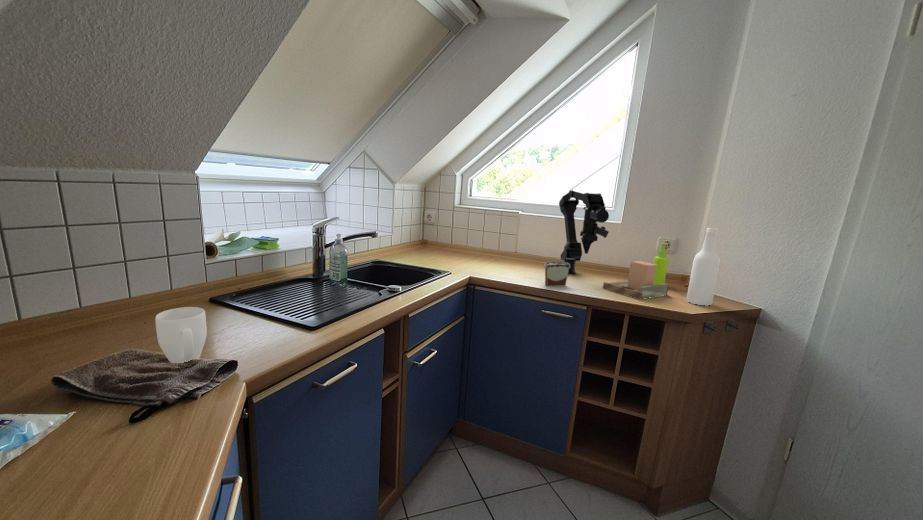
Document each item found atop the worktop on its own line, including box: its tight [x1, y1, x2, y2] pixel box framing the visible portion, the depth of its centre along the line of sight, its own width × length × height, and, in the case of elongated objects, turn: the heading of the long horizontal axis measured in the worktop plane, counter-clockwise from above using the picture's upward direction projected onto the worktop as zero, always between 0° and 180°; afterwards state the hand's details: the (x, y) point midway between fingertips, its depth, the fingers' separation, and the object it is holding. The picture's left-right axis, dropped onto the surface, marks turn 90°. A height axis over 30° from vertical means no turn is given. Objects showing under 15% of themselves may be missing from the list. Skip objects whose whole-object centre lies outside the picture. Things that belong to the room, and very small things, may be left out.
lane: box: [602, 280, 669, 300], centre depth 161 cm, size 18×19×5 cm
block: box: [627, 260, 657, 290], centre depth 158 cm, size 8×6×11 cm
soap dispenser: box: [652, 242, 669, 285], centre depth 174 cm, size 6×7×20 cm
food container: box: [543, 260, 570, 287], centre depth 165 cm, size 12×6×10 cm, turn 108°
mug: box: [154, 306, 208, 364], centre depth 77 cm, size 12×8×11 cm
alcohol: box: [686, 227, 721, 306], centre depth 146 cm, size 9×9×30 cm
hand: (586, 253), depth 176 cm, fingers closed
